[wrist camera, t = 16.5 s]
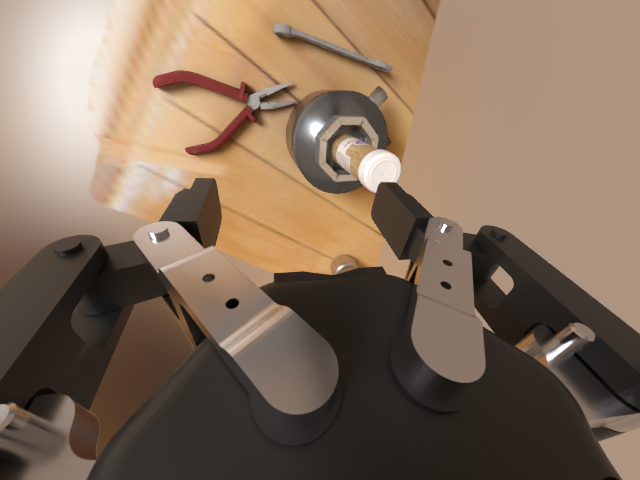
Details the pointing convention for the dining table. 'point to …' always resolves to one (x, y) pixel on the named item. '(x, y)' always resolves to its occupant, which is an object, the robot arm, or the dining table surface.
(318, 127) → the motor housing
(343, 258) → the plastic bottle
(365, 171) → the spice jar
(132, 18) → the dining table surface
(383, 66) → the combination wrench
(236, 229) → the dining table surface
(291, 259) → the dining table surface
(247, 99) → the pliers
